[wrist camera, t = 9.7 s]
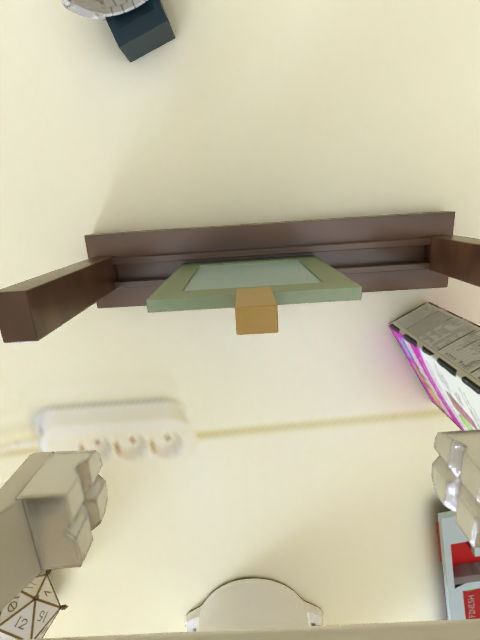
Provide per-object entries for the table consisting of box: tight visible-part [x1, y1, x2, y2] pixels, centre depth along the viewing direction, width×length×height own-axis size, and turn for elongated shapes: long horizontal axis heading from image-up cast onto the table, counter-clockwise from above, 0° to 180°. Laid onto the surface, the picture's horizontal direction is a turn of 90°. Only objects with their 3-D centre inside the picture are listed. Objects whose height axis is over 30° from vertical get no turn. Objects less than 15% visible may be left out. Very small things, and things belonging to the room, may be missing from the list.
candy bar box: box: [389, 302, 480, 431], centre depth 32 cm, size 11×5×16 cm, turn 34°
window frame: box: [0, 211, 480, 343], centre depth 29 cm, size 7×34×17 cm, turn 94°
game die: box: [0, 569, 68, 640], centre depth 46 cm, size 9×8×10 cm
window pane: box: [146, 255, 362, 335], centre depth 26 cm, size 1×12×18 cm, turn 94°
